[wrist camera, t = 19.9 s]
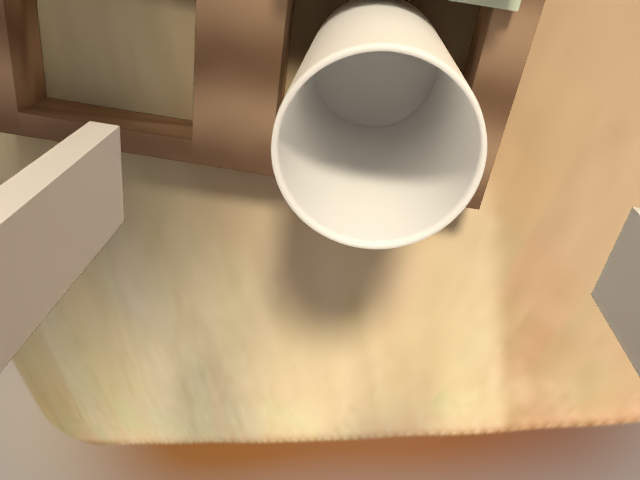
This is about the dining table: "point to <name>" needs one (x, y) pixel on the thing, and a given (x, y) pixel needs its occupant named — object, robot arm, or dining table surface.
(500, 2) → the lid
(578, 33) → the dining table surface
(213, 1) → the board
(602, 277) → the robot arm
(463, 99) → the cup
